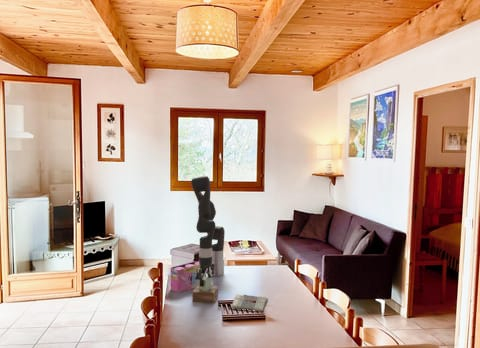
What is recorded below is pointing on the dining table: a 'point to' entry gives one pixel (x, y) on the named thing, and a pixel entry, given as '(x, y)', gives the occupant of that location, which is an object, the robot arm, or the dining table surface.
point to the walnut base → (205, 295)
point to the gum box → (184, 276)
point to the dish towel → (242, 304)
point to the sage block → (205, 284)
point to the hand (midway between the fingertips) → (205, 284)
